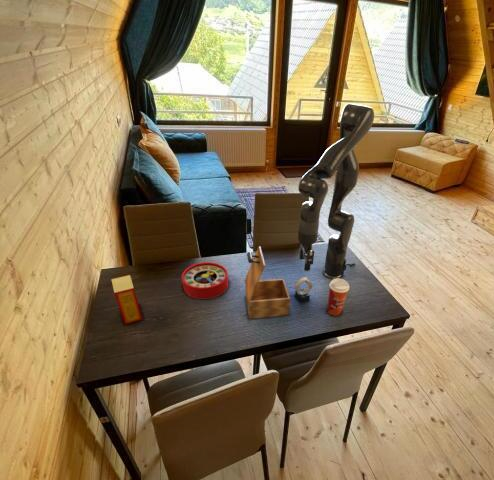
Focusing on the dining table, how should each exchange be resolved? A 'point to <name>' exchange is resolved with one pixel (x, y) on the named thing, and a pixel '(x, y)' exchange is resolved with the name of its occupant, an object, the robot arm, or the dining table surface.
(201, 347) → the dining table surface
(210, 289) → the toy clock
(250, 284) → the lid
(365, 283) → the dining table surface
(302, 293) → the watch
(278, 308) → the chest
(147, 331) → the dining table surface
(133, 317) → the baking soda box
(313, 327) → the dining table surface
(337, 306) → the coffee cup
